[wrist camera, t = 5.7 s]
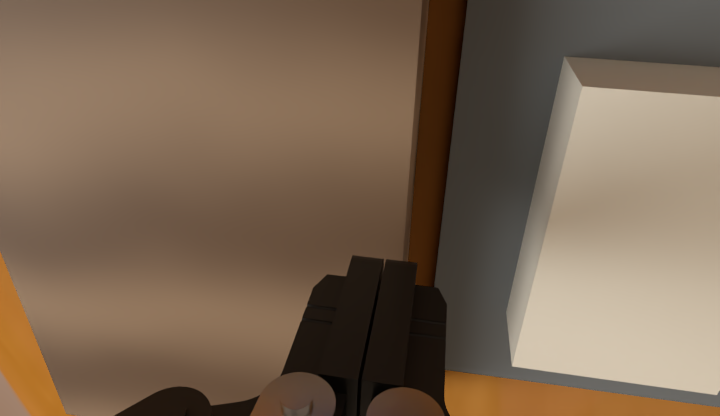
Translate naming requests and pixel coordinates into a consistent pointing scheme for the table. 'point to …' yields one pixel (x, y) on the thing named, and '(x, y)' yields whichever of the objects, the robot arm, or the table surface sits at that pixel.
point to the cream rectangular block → (625, 229)
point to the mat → (534, 152)
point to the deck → (197, 179)
